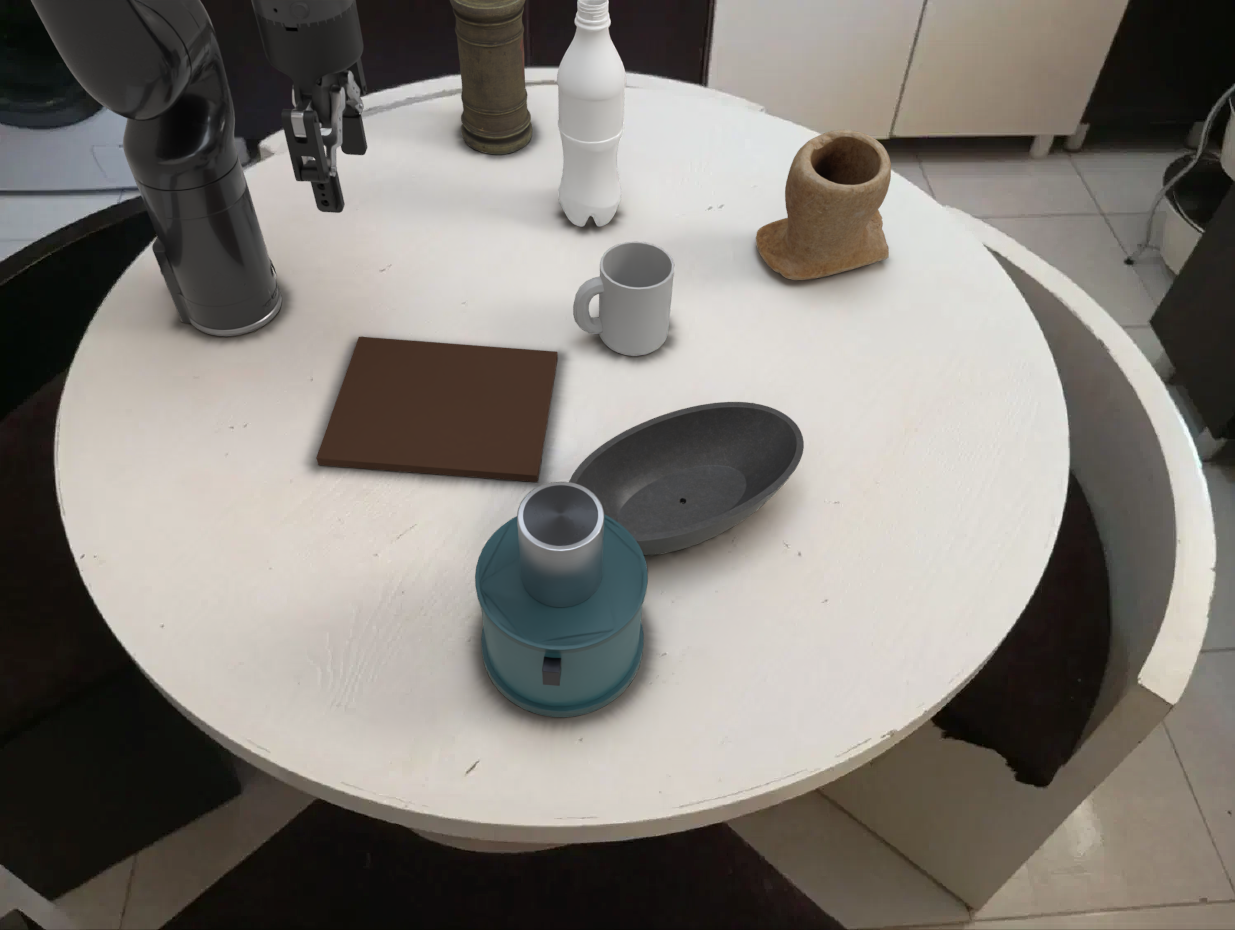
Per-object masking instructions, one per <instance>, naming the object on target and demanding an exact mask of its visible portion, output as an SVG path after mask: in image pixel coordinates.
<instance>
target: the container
mask: <svg viewBox="0 0 1235 930" xmlns="http://www.w3.org/2000/svg"><path fill="white" fill-rule="evenodd" d="M525 2H526V0H449V3H450V5H451V7H452V12H453V14H454V16H455V27H454V31H455V34H456V41H457V50H458V60H459V71H460V80H461V81H460V82H461V94H460V99H461V102H462V113H461V116H460V122H461V127H460V131H461V136H462V139H463V141H464V143H466V144H467V146H469V147H470V148H471V149H473V150H476V151H478V152H481V153H484V154H489V155H506V154H511V153H514V152H516V151H520V150H521V149H522V148H524V147H525V146H526V145H527V144H528V143H529V142H530V141H531V139H532V136H533V124H532V122H531V121H532V115H531V111H530V110H529V108H528V95H529V94H528V91H527V87H526V70H525V69H526V68H525V48H524V47H525V46H524V32H525V27H524V24H523V13H524V9H525V8H524V5H525Z"/></svg>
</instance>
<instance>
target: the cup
mask: <svg viewBox="0 0 1235 930" xmlns="http://www.w3.org/2000/svg"><path fill="white" fill-rule="evenodd" d="M674 275H675V261H674V259H673V256H672V255H671V254H670V253H669V252H668V251H667V250H665V249H664V248H663V247H662V246H661V247H660V246H658V245H657V244H654V243H650V242H646V241H638V240H634V241H625V242H624V241H623V242H621V243H617V244H615V245H613V246H611V247H609V248H607V250H606V251H604V253H603V254H602V256H601V257H600V260H599V276H595V277H591V278H590V279H588V280H586V281H585V282H584V283H582V284H581V285H580V286H579V287H578V289H577V291H576V293H575V296H574V299H573V300H574V301H573V305H572V316H573V319H574V322H575V324H576V325H577V326H578V328H579V329H581V330H582V331H584V332H586V333H588V334H593V335H598V334H599V337H600V339H601V340H602V343H604V345H606V346H607V348H609V349H610V350H612V351H613V352H614V353H615V352H616V353H617V354H621V355H625V356H630V357H631V356H632V357H638V356H645V355H648V354H651V353H653V352H655V351H657V350H658V349H659V348H661V346H663V344H665V342H666V341H667V338H668V335H669V327H670V317H671V307H672V306H671V305H672V298H673V297H672V296H673V287H674V277H675V276H674ZM597 295H598V316H595V317H594V316H593V317H592V316H591V313H590V303H591V301H592V299H593V298H594V297H595V296H597Z"/></svg>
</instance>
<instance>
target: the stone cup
mask: <svg viewBox="0 0 1235 930" xmlns="http://www.w3.org/2000/svg"><path fill="white" fill-rule="evenodd" d="M792 159H793V160H792V162H791V164H790V168H789V170H788V174H787V178H786V181H785V188H784V201H785V210H786V216H787V217H785V218H780V219H778V220H775V221H771V222H769V223H767V224H765V225H763V226H761V227H760V228H758V229H757V231H756V235H755V244H756V248H757V251H758V253H759V255H760V257H761V258H762V260H763V261H764V262H765V264H766V265H767V266H768V267H769V268H770V269H771V270H772V271H774V272H775V273H778V274H779V275H781V276H782V277H783V278H785V279H787V280H790V281H791V280H793V281H804V280H805V281H806V280H814V279H821V278H825V277H829V276H832V275H837V274H840V273H843V272H848V271H852V270H855V269H859V268H862V267H865V266H869V265H871V264H875V263H878V262H883V261H884V260H886V259H889V256H890V252H889V249H890V248H889V245H888V242H887V239H886V236H885V235H886V234H885V232H884V230H883V225H884V222H883V216H882V215H881V212H880V210H879V209H880V207H881V206H882V204H883V203H884V201H885V199H886V197H887V194H888V192H889V187H890V184H891V179H892V178H891V177H892V163H891V158H890V155H889V153H888V151H887V149H886V148H885V146H884V145H883V144H882V143H881V142H880V141H878V140H877V139H876V138H874V137H872V136H871V135H868V134H867V133H865V132H861V131H857V130H852V129H836V130H835V129H834V130H830V131H827V132H824V133H821V134H819V135H817V136H815V137H812V138H811V139H809V140H808V141H807V142H805V143H804V144H803V145H802V146H801V147H800V148H799V149H798V151H796V154H795V155H794V157H793V158H792Z"/></svg>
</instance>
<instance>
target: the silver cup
mask: <svg viewBox="0 0 1235 930" xmlns="http://www.w3.org/2000/svg"><path fill="white" fill-rule="evenodd" d="M516 516H517V524H518V538H519V551H520V565H521V578H522V582H523V585H524V587H525V589H526V591H527V592H528V593H529V594H530V595H531V596H532V597H533V598H534V599H536V600H537V601H539V602H540V603H542V604H545V605H548V606H552V607H570V606H574V605H577V604H580V603H582V602H584V601H585V600H587V599H588V598H590V597H591V596H592V595H593V594H594V593H595V591H596V590H597V589H598V587H599V585H600V582H601V578H602V561H603V536H604V510H603V507H602V504H601V502H600V501H599V499H598V498H597V497H596V495H595V494H594V493H592V492H591V491H590V490H589V489H587V488H585V487H583V486H581V485H578V484H575V483H571V482H569V481H552V482H547V483H544V484H541V485H539V486H537V487H535V488H533V489H532V490H530V491H529V492H528V493H527V494H526V495H525V496H524V498H523V499H522V500H521V502H520V503H519V505H518V508H517V513H516Z"/></svg>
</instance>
